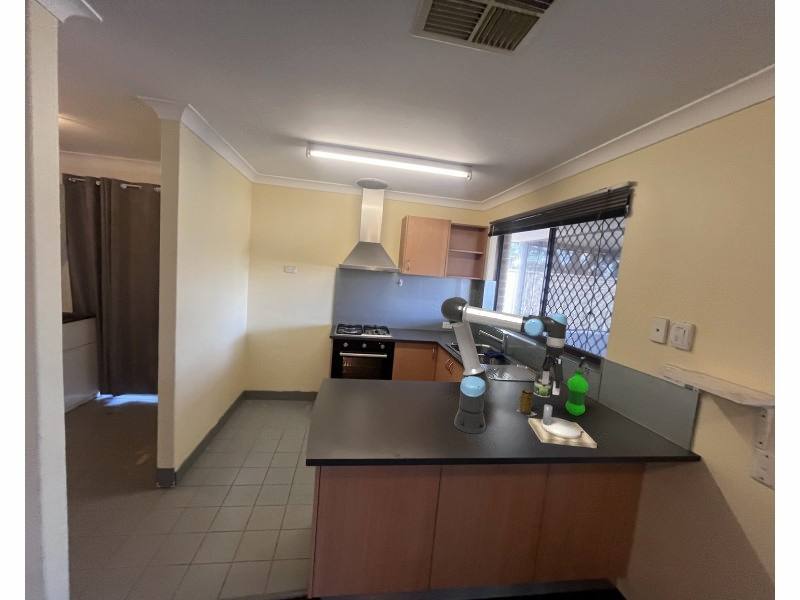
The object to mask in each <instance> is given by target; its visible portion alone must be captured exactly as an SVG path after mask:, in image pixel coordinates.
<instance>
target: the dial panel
mask: <svg viewBox="0 0 800 600" xmlns="http://www.w3.org/2000/svg"><path fill="white" fill-rule="evenodd" d="M542 419H543V418H532V417H528V419H527V423H528V424H529V425H530V427H531V428H532V430H533V431H534V433H535V435H536V436H537V438H538V440H540V442H541V443H545V444H554V445H564V446H565V445H566V446H573V447H584V448H592V449H597V446H598V442H596V441H595V440H594V439H593V438H592V437H591V436H590V435H589V434H588V433H587V432H586V431H585V430H584V429H583V428H582V426H580V425H579V424H578V423H577V422H572V421H571V422H572V423H574V424H575V425H577V426H578V427H579V428H580V429H581V434H580V437H579V438H576V439H567V438H561V437H558V436H555V435H552V434H550V433H548V432H547V431H545V430H544V429H543V428H542V426H541V422H542Z"/></svg>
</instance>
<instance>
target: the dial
mask: <svg viewBox="0 0 800 600" xmlns="http://www.w3.org/2000/svg"><path fill="white" fill-rule="evenodd" d="M552 415H553V406H552V405H551V404H544V406H543V416H542V418H541V419H542V422H541V426H542V428H543V429H544V430H545V431H547V432H548V433H550V434H552V435H555V436H558V437H561V438H567V439H576V438H579V437H580V434H581V429H580V428H579V427H578V426H577V425H575V424H574V423H575V422H573V423H572V421H569V420H567V419H562V418H559V417H554V416H553V417H552Z"/></svg>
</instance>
